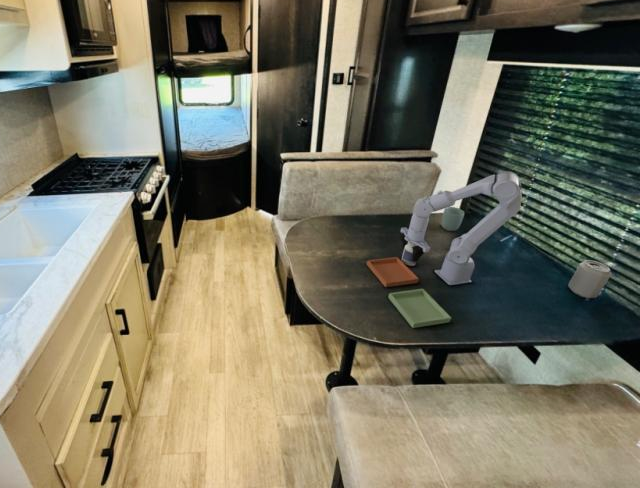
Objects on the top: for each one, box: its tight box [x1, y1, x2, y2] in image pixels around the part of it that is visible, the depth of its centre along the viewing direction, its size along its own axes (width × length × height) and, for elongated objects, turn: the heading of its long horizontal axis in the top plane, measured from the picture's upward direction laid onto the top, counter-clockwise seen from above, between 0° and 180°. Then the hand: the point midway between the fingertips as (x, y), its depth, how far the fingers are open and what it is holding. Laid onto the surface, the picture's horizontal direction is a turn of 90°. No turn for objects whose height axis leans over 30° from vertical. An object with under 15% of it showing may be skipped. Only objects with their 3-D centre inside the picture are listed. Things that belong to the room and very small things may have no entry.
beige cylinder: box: [567, 259, 612, 299], centre depth 109 cm, size 8×8×12 cm
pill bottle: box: [400, 241, 418, 267], centre depth 126 cm, size 5×5×10 cm
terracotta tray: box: [366, 256, 419, 288], centre depth 121 cm, size 13×13×2 cm
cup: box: [440, 206, 466, 232], centre depth 148 cm, size 8×8×10 cm
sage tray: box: [388, 288, 452, 329], centre depth 105 cm, size 13×13×2 cm
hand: (409, 256), depth 127 cm, fingers closed on pill bottle, 5 cm apart
